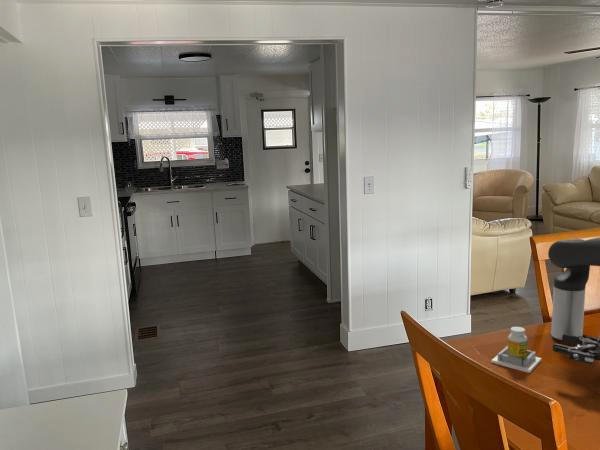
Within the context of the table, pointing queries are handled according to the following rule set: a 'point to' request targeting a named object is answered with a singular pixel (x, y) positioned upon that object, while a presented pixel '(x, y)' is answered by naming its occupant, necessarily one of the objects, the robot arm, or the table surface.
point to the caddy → (517, 360)
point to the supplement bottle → (517, 343)
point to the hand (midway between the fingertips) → (558, 342)
